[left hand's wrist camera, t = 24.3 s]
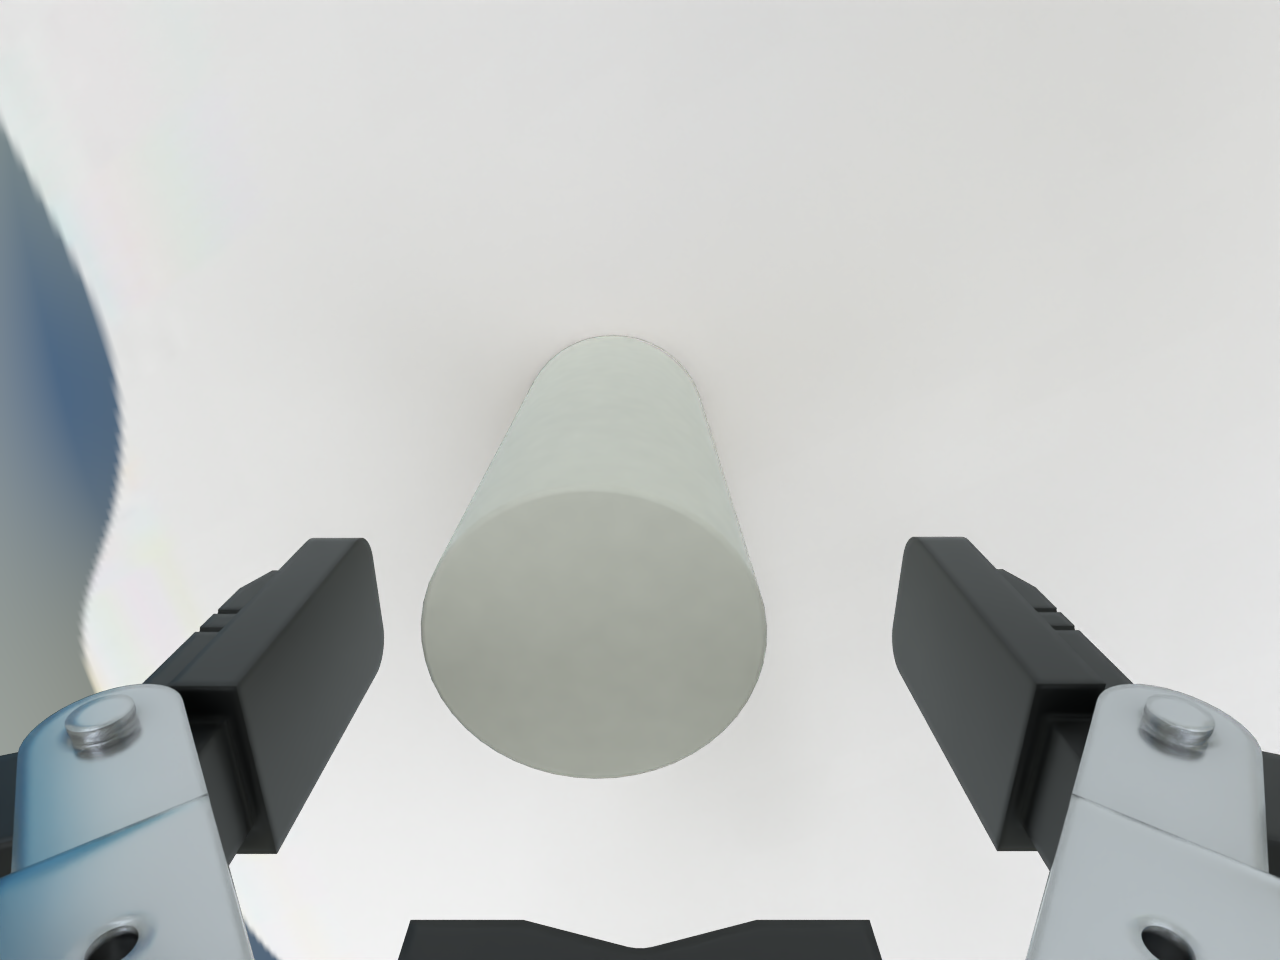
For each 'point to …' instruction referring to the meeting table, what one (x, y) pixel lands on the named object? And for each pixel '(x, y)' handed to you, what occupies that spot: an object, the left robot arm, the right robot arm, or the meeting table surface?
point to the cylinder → (598, 576)
